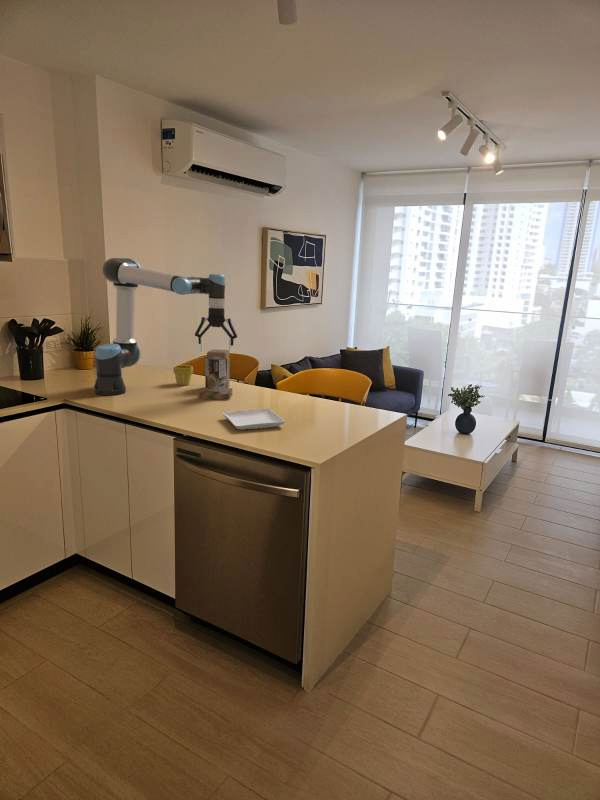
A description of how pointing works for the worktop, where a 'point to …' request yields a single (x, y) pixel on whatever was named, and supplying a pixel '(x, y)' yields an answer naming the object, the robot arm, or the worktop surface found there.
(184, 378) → the plant pot
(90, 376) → the worktop surface
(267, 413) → the salad plate
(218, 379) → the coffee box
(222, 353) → the block
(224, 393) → the walnut riser
